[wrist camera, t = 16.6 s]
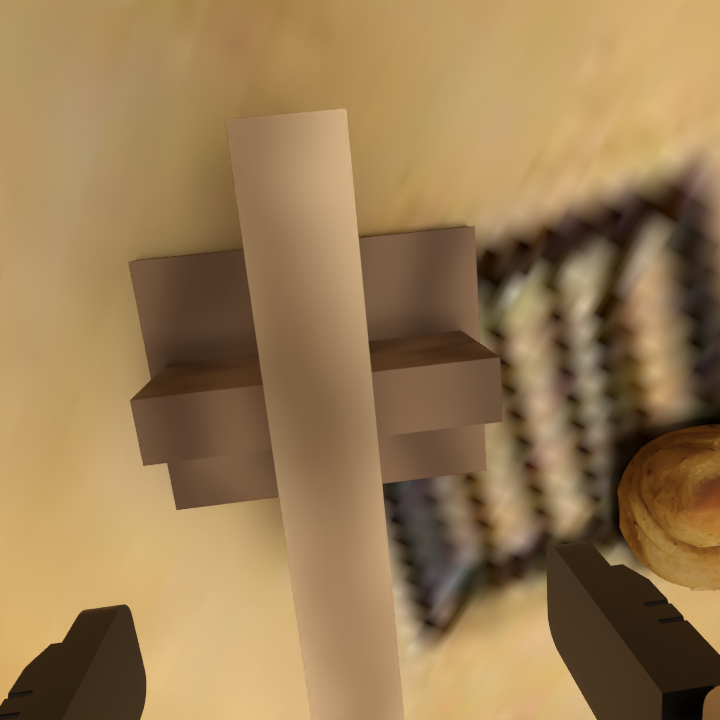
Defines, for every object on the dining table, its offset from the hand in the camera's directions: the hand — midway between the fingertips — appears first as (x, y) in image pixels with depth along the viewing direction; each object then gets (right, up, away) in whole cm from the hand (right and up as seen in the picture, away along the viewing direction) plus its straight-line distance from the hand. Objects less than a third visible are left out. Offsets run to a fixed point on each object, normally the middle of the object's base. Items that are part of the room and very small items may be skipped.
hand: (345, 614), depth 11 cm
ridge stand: (-2, +4, +22) cm, 22 cm away
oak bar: (-1, +3, +14) cm, 14 cm away
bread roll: (+22, -3, +26) cm, 34 cm away
